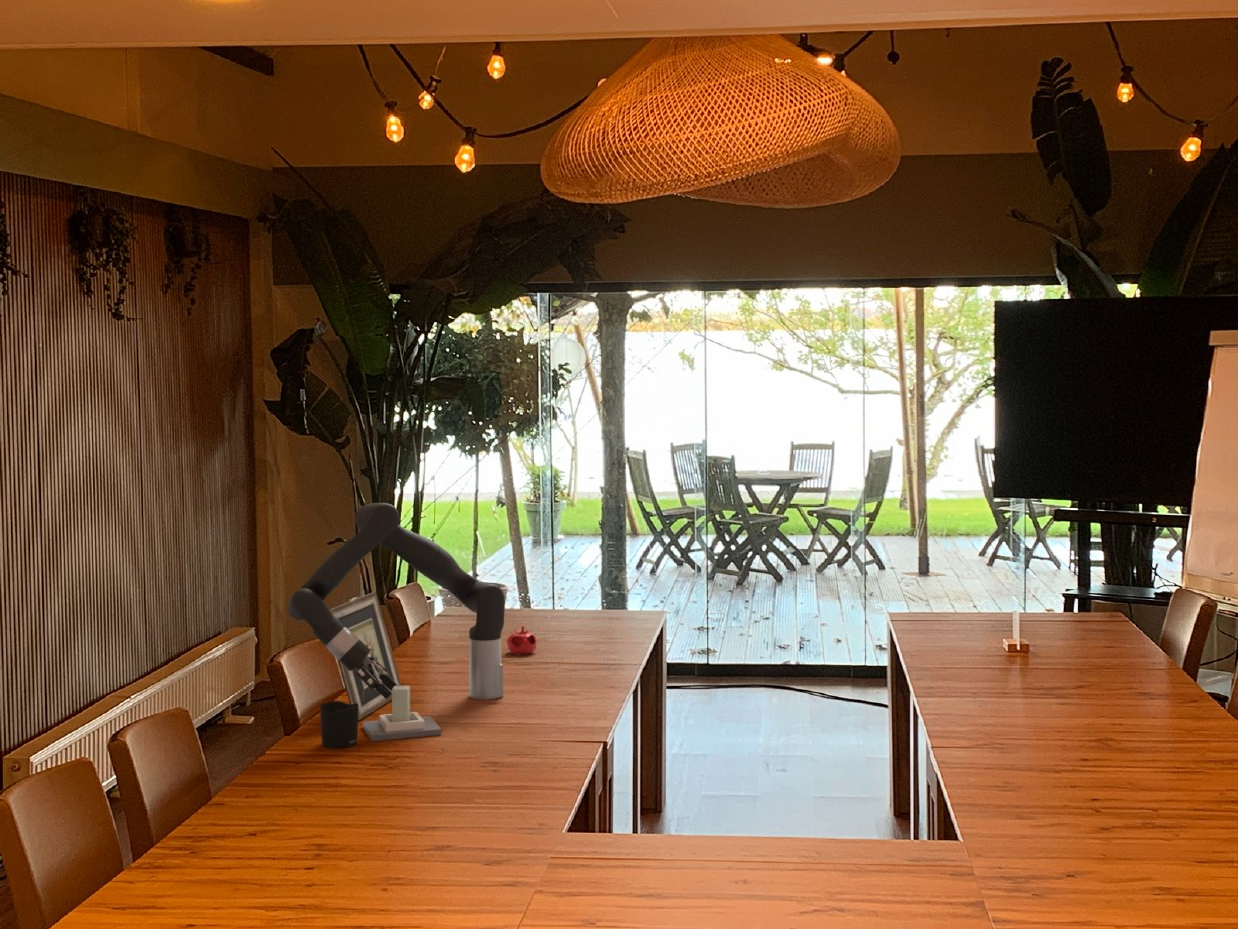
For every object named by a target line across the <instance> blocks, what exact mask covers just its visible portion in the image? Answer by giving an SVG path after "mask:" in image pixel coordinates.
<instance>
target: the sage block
mask: <svg viewBox="0 0 1238 929" xmlns="http://www.w3.org/2000/svg"><path fill="white" fill-rule="evenodd" d="M391 708H392V709H391V712H392V713H391V714H392V722H403V721H410V712H411V685H402V686H394V687H393V689H392V700H391Z"/></svg>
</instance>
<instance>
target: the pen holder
mask: <svg viewBox="0 0 1238 929" xmlns="http://www.w3.org/2000/svg"><path fill="white" fill-rule="evenodd" d="M319 712H320V714H319V715H320V731H321V732H320V733H321V744H322V746H323V747H325V748H327V749H332V750H333V749H334V750H337V749H338V750H339V749H348V748H351V747H354V746H356V745H357V743H358V732H359V731H358V729H359V721H358V703H355V704H352V705H350V703H346V702H345V701H341V700H340V701H339V700H334V701H333V700H332V701H328V702H324V703H322V704H320V705H319Z"/></svg>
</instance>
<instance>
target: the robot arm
mask: <svg viewBox="0 0 1238 929" xmlns="http://www.w3.org/2000/svg"><path fill="white" fill-rule="evenodd" d="M398 510H399V509H397V508H396V506H395V505H392V504H390V503H386V502H374V503H373V502H371V503H368V504H367V503H366V504H364V505H363V506H361V507H359V508H358V510H357V511H356V513H355V525H356V526H357V528H358V530H359V531H358V532H357V533H356V534H355V535H354V536H353V537H352V538H351V539H350V540H348V541H347V542H345V543H344V544H343V545H341V546H340V547H339V548H337V549H336V550H335V551H333V552H332V553H331V554H329V555H328V556H327V557H326V558H325V559H324V560H323V561H322V563H320V565H319V566H318V567H317V568H316V569H315V570H314V571H313V572H312V574H311V576H310V577H309V578H308V580H307V581H306V582H305V583H304V584H303V585H302V586H301V587H300V588H299V589H297V590H296V591H294V593H293V594H292V595H291V596H290V598H289V600H288V602H287V606H286V608H287V613H288V615H289V616H290V617H291V618H292V619H293V620H297V621H306V623H308V625H309V626H310V627H311V630H312V633H313V635H314V636H315V638H317V639H318V640H319V641H320V643H322V645H323V646H325V647H326V648H327V650H328V651H329V652H330V653H331V654H332V656H333V657H334V658H336V660H337V661H338V660H339V661H340V662H341V663H342V664H343V665H344V666H345V667H346V668H347V669H348V670H349V671H352V670H353V669H354V668H355V667H356V668H357V669H358V671H357V672H356V674H357V676H359V677H360V678H361V679H362V681H363V682H364V683H365V684H366V685H367V686H368V687H369V688H370V689H375V690H377V691H378V692H379V693H380V694H381V695H382V696H383V697H384V698H385V699H387V698H388V697H389V696H390V695H391V694H392V692H391V691H392V689H393V687H394V686H397V684H396V683H395V682H394V681H393V680H392V679H391V678H390V677H389V676H388V673H387V672H388V671H387V669H385V668H384V667H383V666H382V665H381V664H380V663H379V662H378V661H377V660H376V659H375V658H374V657H373V656H371V657H370V658H368V657H367V655H368V654H369V653H370V649H369V648H368V647H367V646H366V645H365V644H364V643H363V642H362V641H361V640H360V639H359V638H358V637H357V636H356V635H355V634H354V633H352V632H351V631H350V630H349V629H347V628H346V627H345V626H344V625H343V624H342V623H341V622H340V621H339V620H338V619H337V618H336V617H335V616H333V614H332V613H331V612H330V609H329V607H328V606H327V605H326V603H325V601H324V600H325V599H326V598H327V597H328V596H329V594H331V593H332V592H333V591H334V590H336V588H337V587H338V586H339V584H340V583H342V581H343V580H345V578H346V577H347V576H348V574H349V573H350V572H351V571H353V569H354V568H355V567H356V566H357V565H358V564H359V563H360V562H361V561H362V560H363V559H364V558H365V557H366V556H367V555H368V554H370V553H371V552H372V550H374V549H375V548H376V547H377V546H378V545H380V544H381V545H382V546H384V547H386V548H387V549H389V550H390V551H391V552H393V553H394V554H395V555H396V556H398V557H399V558H400V559H401V560H403V561H404V562H406V563H407V564H408V565H410V566H411V567H412V568H413V569H414V570H416V571H418V573H420V574H421V575H423V576H424V577H426V578H427V579H429V580H430V581H432V582H433V583H435V584H436V585H438V586H439V587H441V588H443V589H445V590H447V591H448V592H449V593H451V594H452V595H453V596H454V597H455V598H456V599H457V600H458V601H459V602H460V603H462V604H463V606H464V607H466V608H467V609H468V610H469V611H471V612H472V613H475V614H476V620H475V624H474V625H473V626H472V627H470V628H469V631H468V633H469V634H468V638H469V639H468V646H469V650H468V653H469V654H468V655H469V656H468V658H469V661H468V664H469V666H468V668H469V674H468V675H469V678H468V680H469V687H468V688H469V689H468V690H469V691H468V693H469V697H470V698H471V699H474V700H481V701H482V700H483V701H484V700H494V699H498V698H503V697H504V664H503V663H502V632H503V629H504V625H505V612H506V611H505V609H506V606H505V605H506V601H505V600H506V599H505V595H504V591H503V590H502V588H501V587H500V586H498V585H497V584H494V583H489V582H485V581H481V580H479V579H477V578H476V577H474V576H472V575H471V574H469V573H467V572H466V571H464V570H463V569H462V567H460V566H459V564H458V562H457V561H456V559H455V558H454V557H453V556H452V555H451V553H449V552H448V550H445V548H443V547H442V546H440V545H438V544H437V542H435V541H433V540H432V539H429V538H427V537H425V536H423V535H421V534H418V533H416V532H413V531H411V530H409V529H407V528H405V527H403V526H401V525H400V520H401V519H400V513H399V511H398ZM381 681H382V682H381ZM386 686H387V687H388V688H389V689H390V690H391V691H390V690H389V689H388V688H387V687H386Z"/></svg>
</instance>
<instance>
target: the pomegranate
mask: <svg viewBox="0 0 1238 929" xmlns="http://www.w3.org/2000/svg"><path fill="white" fill-rule="evenodd" d="M525 627H526V626H525V625H522V626H521V631H520V630H519V629H517V628H516V629H515V630H513V631H512V632H511V635H509V636H508V638H507V639H506V644H507V649H508V651H510V653H512V654H514V655H516V654H520V655H519V656H521V655H530V654H533V653H534V652H535V651H536V648H537V639H536V635H534V634H533V633H529V632H532V630H529V629H527V630H526V631H524V630H525ZM512 633H513V634H512Z"/></svg>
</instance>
